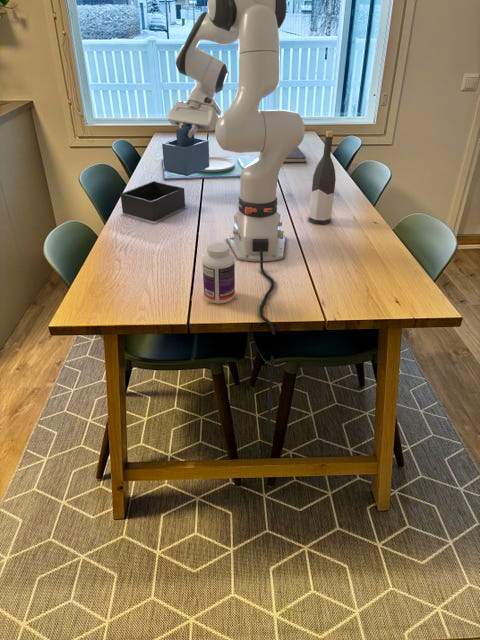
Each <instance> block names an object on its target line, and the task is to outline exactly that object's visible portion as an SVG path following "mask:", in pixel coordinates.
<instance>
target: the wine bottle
mask: <svg viewBox="0 0 480 640" xmlns="http://www.w3.org/2000/svg"><path fill="white" fill-rule="evenodd" d="M333 134H334V132H333V131H332V130H327V131H326V133H325V136H324V146H323V155H322V156H321V158H320V160H319V161H318V163H317V165H316V167H315V169H314V172H313V175H312V184H311V185H312V186H311V194H310V205H309V214H308V221H309V223H312V224H314V225H326V224H330V223H331V219H332V212H333V204H334V195H335V189H336V187H335V186H336V181H337V179H336V178H337V177H336V169H335V165H334V161H333V159H332V155H331V154H332V147H333V146H332V145H333V138H334V135H333Z"/></svg>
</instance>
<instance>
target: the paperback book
mask: <svg viewBox="0 0 480 640" xmlns="http://www.w3.org/2000/svg"><path fill="white" fill-rule="evenodd" d="M306 159H307V157H306V155H305V154H304V153H303V152H302V150H301V149H300V147H299V146H298V147H297V148H295V149H294V150H293V151H292V152H291V153H290V154H289V155H288V156H287V158H286V159H285V160H284V162H283V164H301V163H307V160H306Z"/></svg>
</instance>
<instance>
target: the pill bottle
mask: <svg viewBox="0 0 480 640" xmlns="http://www.w3.org/2000/svg"><path fill="white" fill-rule="evenodd" d="M201 260H202V262H201V263H202V281H203V296H204V299H206V300H207V301H208V302H210V303H213V304H226V303H229V302H230V301H232V300H233V299H234V298H235V294H236V277H235V276H236V274H235V273H236V271H235V270H236V269H235V268H236V264H235V263H236V261H235V257H234V255H233V254H232V253H231V249H230V244H229V243H228V244H227V243H225V242H221V241H220V242H219V241H216V242H212V243H209V244H208V245H207V246H206V253H205V254H204V255H203V256H202V259H201Z"/></svg>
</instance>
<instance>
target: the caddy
mask: <svg viewBox="0 0 480 640" xmlns="http://www.w3.org/2000/svg"><path fill="white" fill-rule="evenodd" d="M191 129H192V126H190V125H189V126H186V127H182V128H180V127H179V128H176V129H175V134H176V135H175V136H176V137H175V139H172V140H170V141H166V142H163V143H162V144H161V146H162V148H161V149H162V162H163V161H164V167H163V172H164V171H166V172H171V173H176V174H180V175H185V176H189V175H191V174H194V173H196V172H198V171H201V170H203V169H206V168H208V167H209V157H210V140H209V139H205V138H198V137H195V133H194V134H193V135H192V137H191V138H187V137H186V133H187V131H190V130H191Z"/></svg>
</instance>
